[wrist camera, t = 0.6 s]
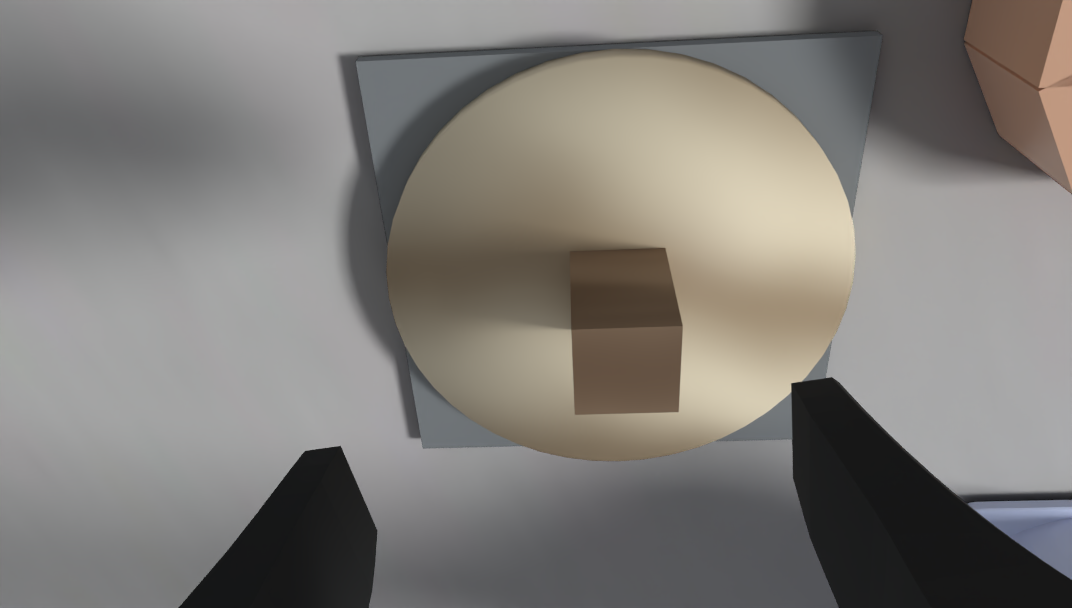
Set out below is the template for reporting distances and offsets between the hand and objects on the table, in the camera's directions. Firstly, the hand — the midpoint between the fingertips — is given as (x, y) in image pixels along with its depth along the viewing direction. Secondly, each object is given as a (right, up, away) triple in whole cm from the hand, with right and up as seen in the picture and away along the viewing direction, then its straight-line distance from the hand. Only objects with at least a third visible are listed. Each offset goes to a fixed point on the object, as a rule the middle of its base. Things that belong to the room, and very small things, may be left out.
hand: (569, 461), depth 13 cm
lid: (+2, +3, +9) cm, 10 cm away
